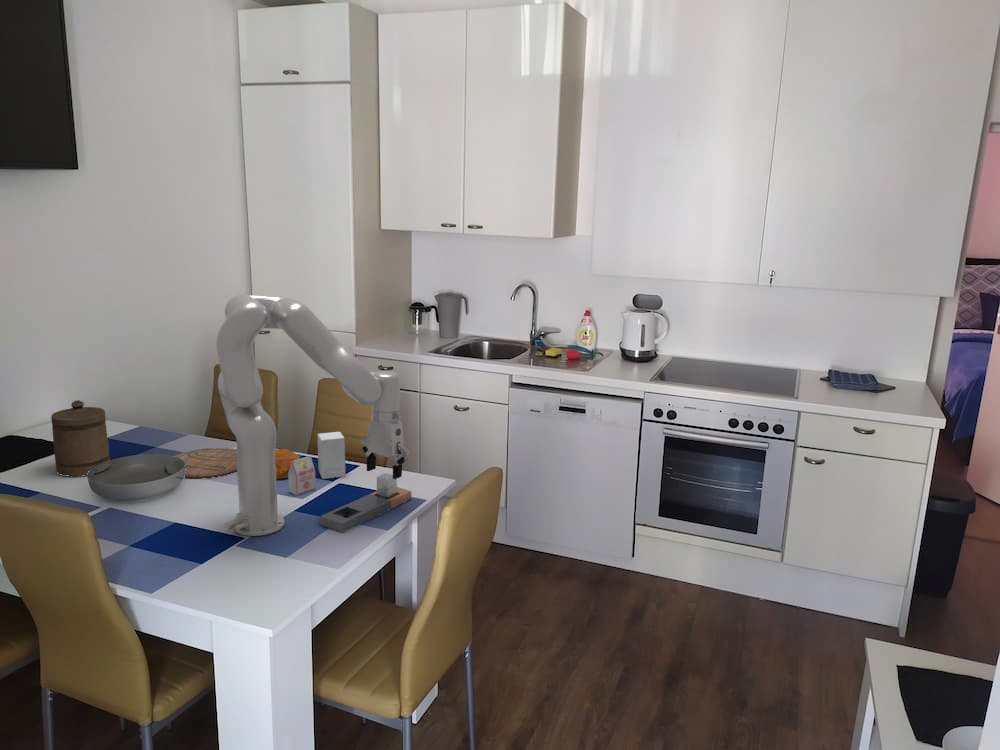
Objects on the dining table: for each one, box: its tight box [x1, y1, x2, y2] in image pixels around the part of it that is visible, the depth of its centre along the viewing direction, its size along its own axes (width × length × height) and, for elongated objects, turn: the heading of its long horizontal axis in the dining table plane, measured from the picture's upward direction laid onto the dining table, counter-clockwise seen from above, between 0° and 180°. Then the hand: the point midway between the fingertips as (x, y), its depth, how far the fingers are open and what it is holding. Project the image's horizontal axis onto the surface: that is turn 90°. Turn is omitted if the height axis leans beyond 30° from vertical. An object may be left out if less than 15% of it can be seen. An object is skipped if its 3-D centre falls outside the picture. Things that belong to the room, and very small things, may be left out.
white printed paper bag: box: [287, 455, 316, 496], centre depth 226 cm, size 4×7×10 cm, turn 141°
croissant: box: [275, 448, 301, 480], centre depth 241 cm, size 14×16×8 cm
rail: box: [319, 486, 412, 533], centre depth 213 cm, size 28×8×2 cm, turn 147°
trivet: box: [173, 447, 237, 480], centre depth 246 cm, size 25×25×2 cm
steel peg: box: [376, 472, 398, 499], centre depth 219 cm, size 4×4×8 cm
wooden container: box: [50, 399, 111, 477], centre depth 237 cm, size 15×15×22 cm
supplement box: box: [317, 431, 346, 480], centre depth 240 cm, size 7×7×13 cm
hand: (384, 473), depth 218 cm, fingers open, 9 cm apart
